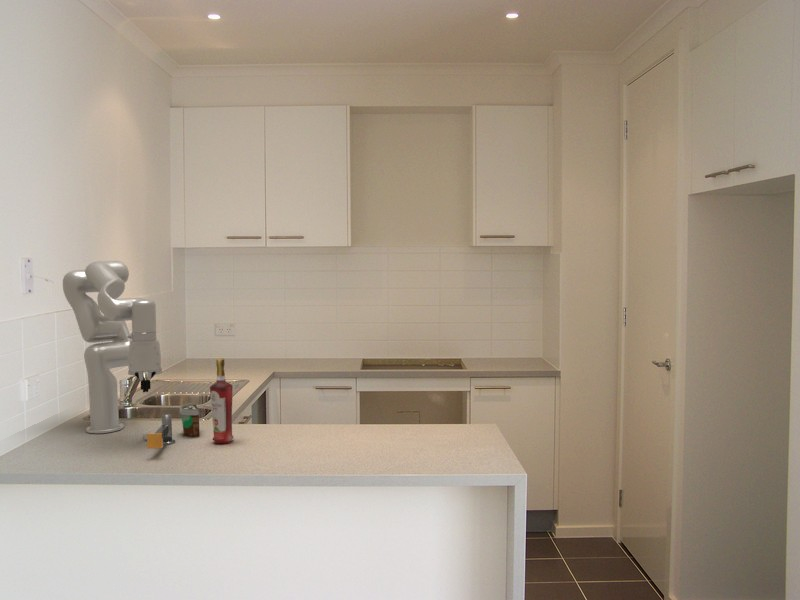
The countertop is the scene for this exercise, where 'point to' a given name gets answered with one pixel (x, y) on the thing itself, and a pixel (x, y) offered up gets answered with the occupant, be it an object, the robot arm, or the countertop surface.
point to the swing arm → (157, 437)
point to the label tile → (145, 437)
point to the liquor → (221, 406)
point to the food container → (190, 420)
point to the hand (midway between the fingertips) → (145, 391)
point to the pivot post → (167, 421)
